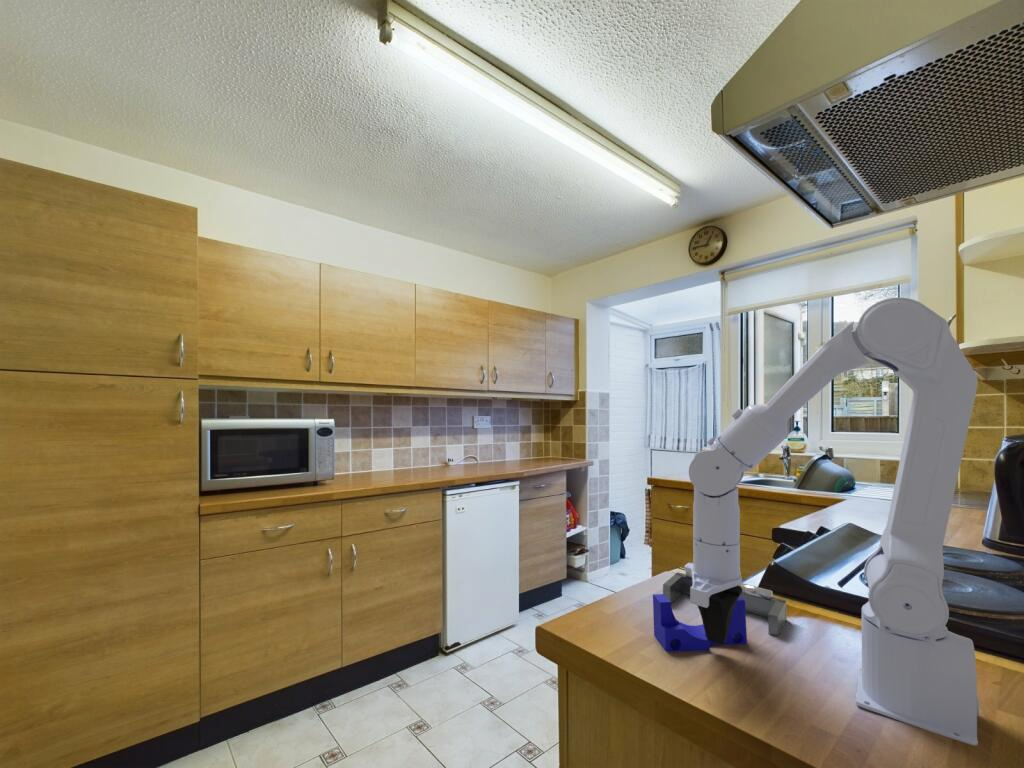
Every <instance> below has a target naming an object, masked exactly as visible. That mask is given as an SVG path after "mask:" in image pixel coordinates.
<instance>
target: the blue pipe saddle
mask: <svg viewBox="0 0 1024 768" xmlns="http://www.w3.org/2000/svg"><path fill="white" fill-rule="evenodd" d="M652 606H653V607H652V608H653V609H652V610H653V611H652V613H653V614H652V615H653V636H654V637H655V639H656V640H657V642H658V643H659V645H660V646H661V647H662V648H663V650H664V652H667V653H668V652H669V653H671V652H700V651H701V652H704V651H710V650H711V649H710V646H716V645H720V646H721V644H718V643H715V642H712V641H709V640H707V637H706V634H705V630H704V625H703V623H702V624H699V625H697V624H696V625H691V624H687V623H686V624H685V623H683V622H681V621H679V620H677V618H676V617H675V615H674V612H673V609H672V608H673V607H672V604H671V602H670V601H669V600H668V599H667V598H666V597H665V596H664V595H663V593H656V594H655V593H654V594H652ZM746 613H747V612H745V600H744V599H742V598H741V597H739V598H738V600H737V602H736V604H735V607H734V610H733V613H732V617H731V621H730V626H729V631H728V635H727V638H726V641H725V643H724V644H723V645H747V644H748V637H747V636H748V634H747V615H746Z"/></svg>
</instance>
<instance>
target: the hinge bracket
mask: <svg viewBox="0 0 1024 768" xmlns="http://www.w3.org/2000/svg"><path fill="white" fill-rule="evenodd" d="M692 584H693V583H692V574H691V573H689V572H686V571H685V573H682V572H676V573H675V574H673V576H671V577H670V578H669V579H668V580H666V581H665V582H664V583H663V584H662V594H663V595H664V596H665V597H666V598H667V599H668V600H669V601H670V602H671V605H672V604H673V603H674V602H675V601H676V599H678V598H679V597H680V596H681V595H686V596H689V597H690V586H691V585H692ZM738 586H740V587H741V588H742V593H741V595H740V596H739V597H741V598H742V599H744V600H745V612H746V613H748V614H749V613H750V614H752V615H756V616H760V617H764V618H766V619H767V620H768V623H767V625H768V632H767V634H768V635H770V636H773V637H774V636H775V637H779V635H780V633H781V632H782V630H783V627H784V626H785V624H786V621H787V599H783V598H779V597H776V596H773V595H774V593H773V590H771V589H766V588H763V587H759V586H755V585H751V584H747V583H743V582H741V584H739V585H738Z"/></svg>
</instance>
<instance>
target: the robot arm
mask: <svg viewBox="0 0 1024 768" xmlns="http://www.w3.org/2000/svg"><path fill="white" fill-rule="evenodd" d="M854 323H855V321H854V320H853V321H851V322H850V323H848V324H847V325H846V326H844V327H843V328H842V329H841V330H840V331H838V332H837V333H836V334H834V335H833V336H832V337H831V338H830V339H828V340H827V341H826V342H825V343H823V344H822V345H821V346H820V347H818V349H817V350H816V351H815V352H814V353H813V354H812V355H811V357H809V358H808V360H806V362H805V363H803V365H801V367H800V368H798V370H797V371H796V372H795V373H794V374H793V375H792V376H791V377H790V378H789V379H788V380H787V382H786V383H784V385H783V386H782V387H781V388H780V389H779V390H778V391H777V392H776V393H775V394H774V395H773V396H772V397H771V398H770V399H769V400H768V401H767V403H765V404H750V405H748V406H747V407H745V408H744V409H741V408H738V409H737V410H736V411H734V413H732V415H731V417H732V418H733V419H734V420H733V421H732V422H731V423H729V425H727V426H726V427H725V429H723V430H722V432H721V433H720V434H719V435H718V436H716V437H715V436H712V437H710V438H709V439H708V441H707V444H708V445H709V447H710V448H708V449H705V450H702V451H699V452H697V453H696V454H695V455H694V457H693V459H692V460H691V462H690V464H689V467H688V477H689V480H690V482H691V484H692V486H693V503H692V511H693V512H692V513H693V514H692V526H693V527H692V541H693V542H692V543H693V544H692V545H693V546H692V549H693V551H692V552H693V553H692V554H693V557H692V562H688V563H686V564H685V565H684V570H683V571H684V572H685V573H686V572H689V573H691V574H692V583H693V584H692V585H691V586H690V596H689V597H690V599H689V602H690V604H691V605H696V606H697V608H698V610H699V613H700V616H701V620H702V624H703V625H704V630H705V634H706V637H707V640H709V641H712V642H715V643H718V644H720V646H724V645H725V644H724V643H725V641H726V638H727V635H728V631H729V626H730V621H731V617H732V613H733V610H734V607H735V604H736V602H737V600H738V598H739V596H740V595H741V593H742V588H741V587H740V586H738V585H739V584H741V583H743V582H742V579H743V578H742V573H741V541H740V538H741V536H740V535H741V534H740V533H741V527H740V525H741V524H740V522H741V517H740V516H741V508H740V504H739V487H738V485H739V484H740V483H741V482H742V480H743V478H744V475H745V472H751V471H752V470H753V469H754V468H755V467H757V465H759V464H760V463H761V461H763V460H764V459H766V458H767V456H768V455H769V454H771V453H772V452H773V451H774V450H775V449H776V448H777V447H778V446H779V445H780V444H781V443H782V442H783V441H785V440H786V439H787V438H788V436H789V433H788V432H789V430H788V420H790V419H791V417H793V416H794V414H796V413H797V412H798V411H799V410H801V409H802V408H803V407H804V406H805V405H806V404H807V403H808V402H809V401H810V400H811V399H813V398H814V397H815V396H816V395H817V394H819V392H821V390H823V389H824V388H825V387H826V386H827V385H828V384H830V382H832V381H833V380H834V379H835V378H837V376H839V375H841V374H844V373H847V372H849V371H853V370H855V369H859V368H861V367H865V366H866V365H868V364H869V363H870V361H869V359H871V360H872V361H874V362H876V363H878V364H880V365H882V366H884V367H886V368H888V369H890V370H891V371H893V373H894V374H895V376H897V377H898V378H899V379H900V380H901V381H902V382H903V383H905V385H906V386H907V387H909V388H910V389H911V390H912V394H913V395H912V400H911V405H910V409H909V415H908V418H907V424H906V428H905V433H904V434H905V435H904V438H903V443H902V448H901V452H900V453H901V454H900V458H899V463H898V468H897V472H896V476H895V483H894V487H893V491H892V492H893V493H892V497H891V503H890V506H889V512H888V516H887V521H886V525H885V528H884V530H883V532H882V535H881V537H880V542H879V544H878V547H877V549H876V551H874V553H873V554H871V555H870V556H869V557H868V559H867V560H866V562H865V563H864V569H863V574H864V579H865V581H866V582H867V586H868V593H867V594H868V601H867V602H866V603H865V604H863V605H862V607H861V668H859V672H858V678H857V685H856V686H857V687H856V696H855V704H856V705H857V706H859V707H860V708H862V709H866V710H869V711H871V712H874V713H877V714H880V715H883V716H886V717H888V718H891V719H894V720H897V721H900V722H902V723H904V724H905V723H906V724H908V725H911V726H913V727H917V728H920V729H923V730H926V731H928V732H931V733H933V734H936V735H941V736H942V737H943V736H944V737H947V738H950V739H952V740H955V741H959V742H962V743H965V744H968V745H971V746H978V744H979V741H978V740H979V739H978V717H979V716H980V704H979V703H980V702H979V697H978V695H977V694H978V691H977V690H978V688H977V687H978V686H977V683H978V681H977V679H978V678H977V664H976V652H975V645H974V641H973V640H972V639H971V638H969V637H966V636H963V635H960V634H957V633H954V632H952V631H949V630H948V626H946V625H947V622H948V620H949V616H950V610H949V605H948V603H947V601H946V598H945V595H944V594H943V582H944V576H945V570H944V569H945V568H944V567H945V566H944V565H945V564H944V554H943V553H944V552H943V551H944V550H943V549H944V548H943V546H944V543H945V542H944V541H945V537H946V532H947V528H948V524H949V519H950V514H951V509H952V504H953V501H954V496H955V491H956V487H957V482H958V477H959V472H960V469H961V464H962V459H963V454H964V451H965V450H964V449H965V445H966V440H967V435H968V433H969V426H970V421H971V418H972V414H973V407H974V404H975V400H976V394H977V389H978V385H979V384H978V376H977V373H976V372H975V370H974V369H973V367H972V365H971V364H970V362H969V360H968V359H967V357H966V355H965V354H964V352H963V351H962V349H961V347H960V346H959V344H958V343H957V341H956V339H955V338H954V336H953V335H952V332H951V329H950V326H949V323H948V321H947V319H945V318H944V317H942V316H941V315H939V314H938V313H936V312H935V311H934V310H932V309H931V308H930V307H928V306H926V305H925V304H923V303H922V302H920V301H918V300H915V299H912V298H909V297H890V298H886V299H883V300H880V301H879V300H878V302H875V303H874V304H872V305H869V307H868V308H866V310H865V311H864V312H863V313H862V314H861V316H860V318H859V320H858V322H857V326H856V327H855V330H853V328H854ZM868 358H869V359H868Z"/></svg>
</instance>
